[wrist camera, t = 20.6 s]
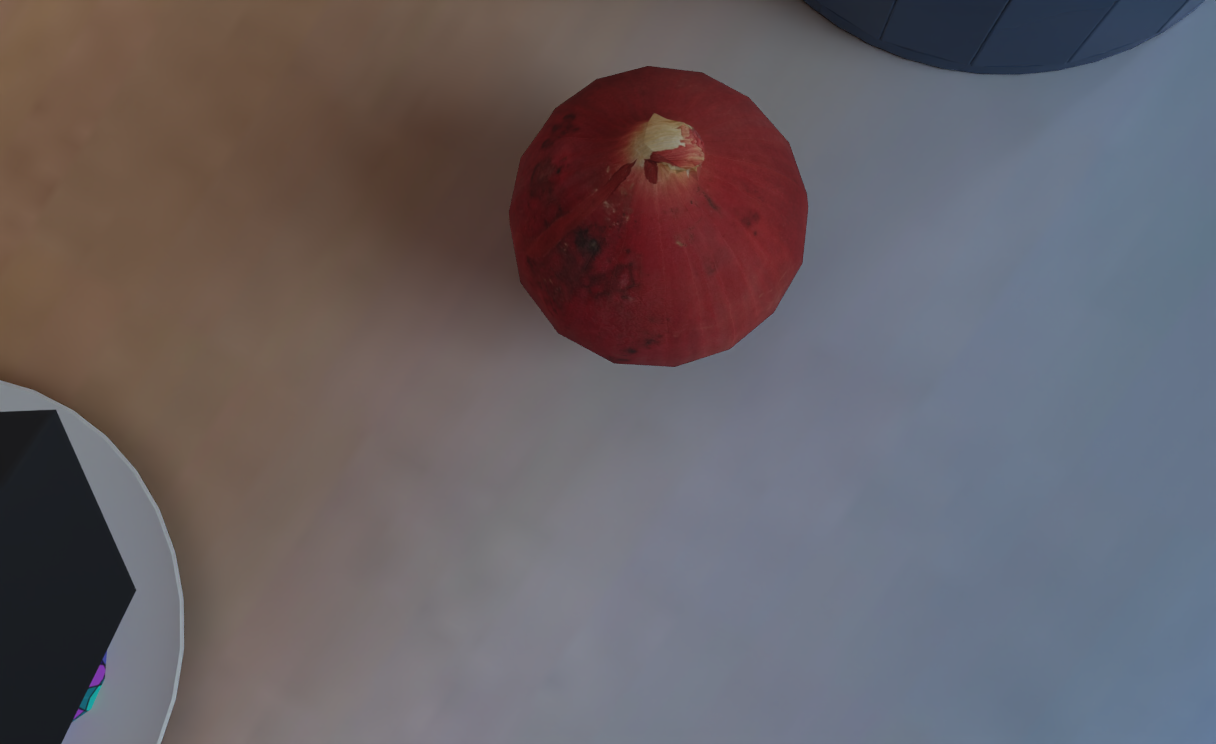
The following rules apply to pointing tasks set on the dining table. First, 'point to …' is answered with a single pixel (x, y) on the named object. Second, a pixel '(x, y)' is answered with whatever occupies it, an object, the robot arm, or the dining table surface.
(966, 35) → the pot
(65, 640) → the robot arm
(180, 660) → the pudding
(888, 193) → the dining table surface
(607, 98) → the onion
